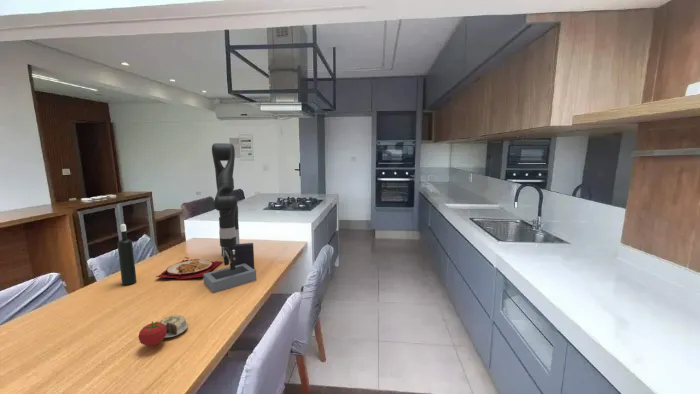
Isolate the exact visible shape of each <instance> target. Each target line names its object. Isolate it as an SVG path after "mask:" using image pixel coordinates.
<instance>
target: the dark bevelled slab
mask: <svg viewBox="0 0 700 394" xmlns="http://www.w3.org/2000/svg"><path fill="white" fill-rule="evenodd" d="M233 249H234V250H236V254H237V262H235V266H236V265H240V264H244V263H245V264H247V265H248V266H250V267H251V268H253V269H254V270H255V252H254V243H253V242H248V243H247V242H246V243H240V244H236V245H234V246H233Z"/></svg>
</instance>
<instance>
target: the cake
mask: <svg viewBox="0 0 700 394" xmlns="http://www.w3.org/2000/svg"><path fill="white" fill-rule="evenodd" d="M159 322H160V323H163V324H165V326H166V329H167V332H166V336H165V337H164V339H165V338H172V337H175V336H178V335H180V334H183V332H185V331H186V330H187V329H188V326H189V324H188V322H187V321H186V318H185V316H184V315H181V314H174V315H173V314H172V315H170V316H166V317H164V318H163V319H161V320H160V321H159Z"/></svg>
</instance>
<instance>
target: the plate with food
mask: <svg viewBox="0 0 700 394" xmlns="http://www.w3.org/2000/svg"><path fill="white" fill-rule="evenodd" d="M184 258H185V260H184V259H183V260H181V261H180V262H177V263H175V264H172V265H170V266H168V267H167V268H166V270H164V271H163V272H161V273H160V274H159V275H156V276H155V277H156V278H162V279H163V278H167V279H169V278H170V279H172V278H175V279H176V280H184V279H185V280H187V279H195V278H201V277H203V278H204V276H203V274H204V273H208V272H212V270H213V269H215V268H217V266H219V265H220V264H222V263H224V260H223V261H221V260H220V261H218V260H216V261H211V260H209V259H208V260H206V259H199V258H194V259H190V257H186V256H184Z"/></svg>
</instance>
